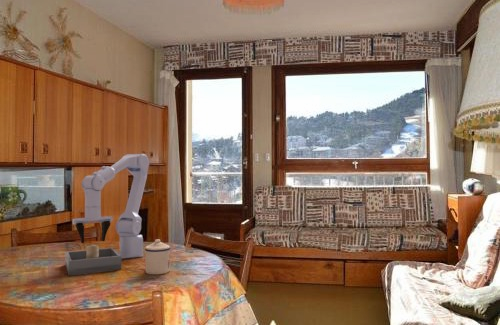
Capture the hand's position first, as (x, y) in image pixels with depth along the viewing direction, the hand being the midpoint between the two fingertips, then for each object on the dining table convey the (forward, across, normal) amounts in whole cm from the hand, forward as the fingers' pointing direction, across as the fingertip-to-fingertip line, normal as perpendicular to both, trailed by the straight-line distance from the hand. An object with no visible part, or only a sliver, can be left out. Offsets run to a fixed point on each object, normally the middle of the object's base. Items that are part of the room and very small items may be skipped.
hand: (93, 241), depth 162 cm
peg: (+9, +1, +2) cm, 10 cm away
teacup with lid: (+10, -18, +21) cm, 29 cm away
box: (+9, +1, +2) cm, 10 cm away
